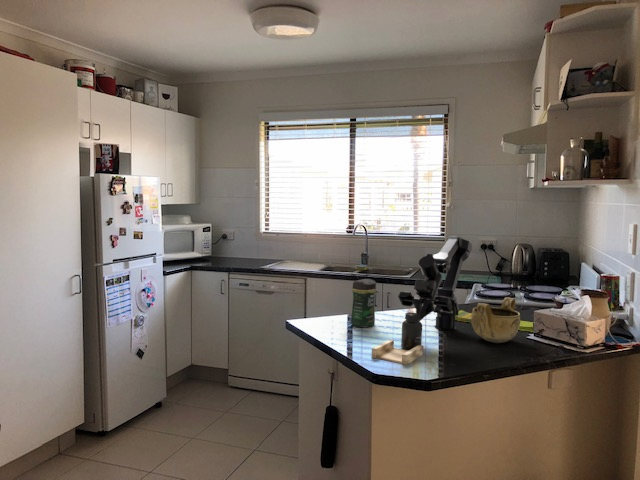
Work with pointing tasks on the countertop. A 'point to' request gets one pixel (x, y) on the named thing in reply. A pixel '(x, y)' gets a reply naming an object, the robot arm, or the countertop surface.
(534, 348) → the countertop surface
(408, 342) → the supplement bottle
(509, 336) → the ceramic bowl
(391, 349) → the cradle
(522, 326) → the dish towel
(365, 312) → the coffee jar
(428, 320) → the countertop surface
